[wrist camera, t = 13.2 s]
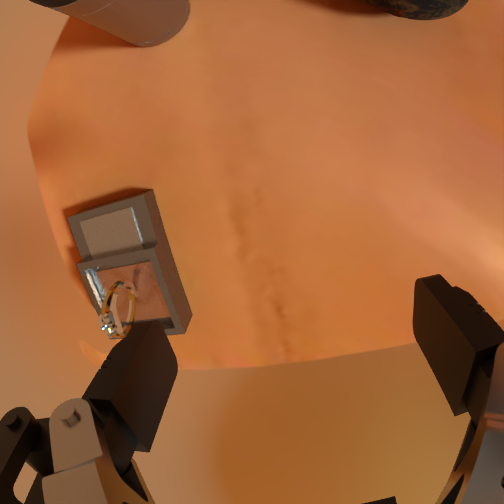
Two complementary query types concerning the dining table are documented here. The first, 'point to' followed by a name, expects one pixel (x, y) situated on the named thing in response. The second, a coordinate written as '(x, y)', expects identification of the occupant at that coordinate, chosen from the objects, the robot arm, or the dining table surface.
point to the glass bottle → (419, 8)
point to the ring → (111, 319)
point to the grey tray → (131, 260)
